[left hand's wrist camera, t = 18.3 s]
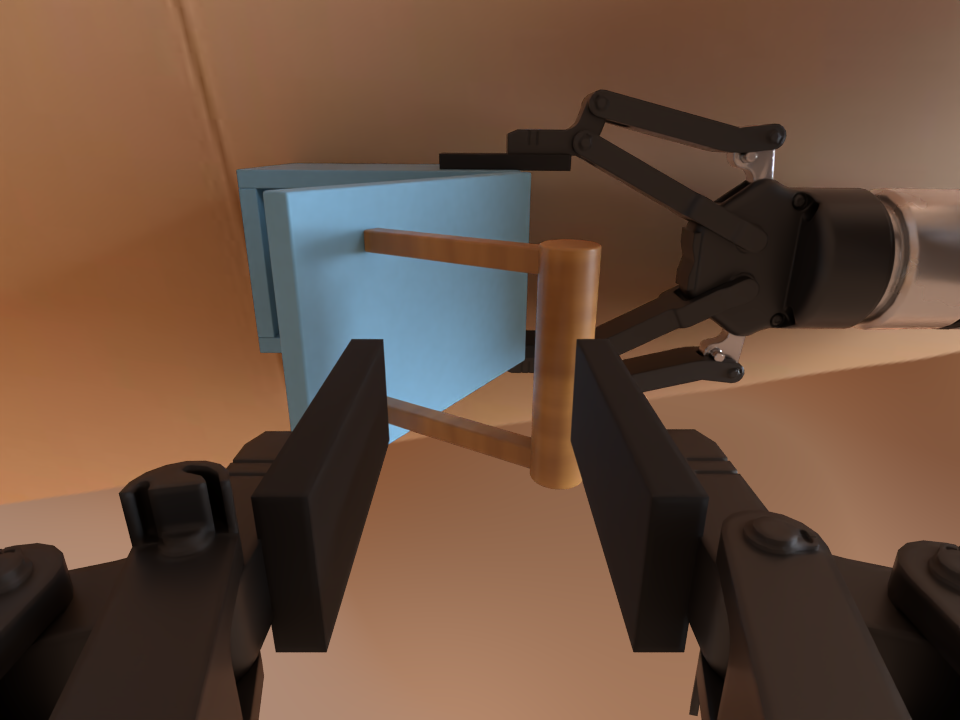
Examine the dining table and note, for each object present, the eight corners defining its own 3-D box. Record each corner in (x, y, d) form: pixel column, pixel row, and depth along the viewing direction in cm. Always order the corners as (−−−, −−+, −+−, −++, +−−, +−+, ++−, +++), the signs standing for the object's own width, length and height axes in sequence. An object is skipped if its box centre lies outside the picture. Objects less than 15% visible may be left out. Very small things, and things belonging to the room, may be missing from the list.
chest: (307, 308, 39) (260, 353, 31) (292, 163, 36) (235, 169, 28) (509, 309, 39) (516, 354, 31) (512, 164, 36) (521, 171, 28)
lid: (295, 481, 19) (529, 579, 15) (260, 190, 16) (545, 210, 12) (508, 356, 31) (676, 392, 26) (512, 171, 27) (705, 178, 23)
